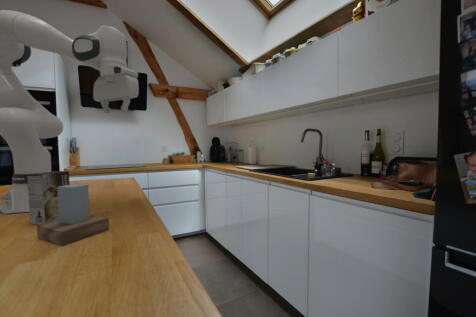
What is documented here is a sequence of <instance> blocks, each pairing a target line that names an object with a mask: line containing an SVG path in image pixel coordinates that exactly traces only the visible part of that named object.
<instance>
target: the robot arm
mask: <svg viewBox="0 0 476 317" xmlns="http://www.w3.org/2000/svg"><path fill="white" fill-rule="evenodd" d="M32 49H35V50H40V51H45V52H49V53H52V54H57V55H63V56H66V57H69V58H73V59H76V60H77V61H79V62H81V63H83V65H85V66H89V67H90V68H92V69H94V70H97V71H99V74H100V76H98V77H97V79H96V80H95V81H94V83H93V94H92V96H93V100H94V101H95V102H97V103H98V102H99V103H100V105H101V107H102V109H103V113H104V114H110V113H111V107H109V103H110V102H115V101H123V102H122V105H121V106H120V111H122V112H129V106H130V103H131V99H135V98H138V97H139V93H140V92H139V90H140V88H139V87H140V86H139V80H138V78H139V73H138V72H137V71H135V70H132V69H131V68H128V63H127V58H128V48H127V40H126V36H125V34H124V33H123V32H122V31H121V30H120V29H118V28H117V27H114V26H113V25H112V26H111V25H108V24H104V25H103V24H102V25H100V26H99V28H98V29H97V30H96V31H94V32H92V33H90V34H89V33H88V34H86V35H85V34H81V35H78V36H77V37H75V38H74V39H72V38H70V37H69V36H67V35H65V34H64V33H63V32H61V31H60V30H59V29H56V28H55V27H54V26H52V25H50V24H49V23H48V22H46V21H44V20H42V19H40V18H39V17H36V16H33V15H31V14H28V13H26V12H25V13H24V12H21V11H17V10H8V9H1V10H0V136H1V137H2V138H3V139H4V140H5V142H6V143H7V144H8V147H9V148H10V152H11V154H12V161H13V162H12V163H13V171H14V172H13V174H12V177H11V183H12V184H11V185H10V186H9V188H8V189H7V190H6V191H5V193H4V194H1V195H0V200H1V201H2V202H3V201H4V203H2V204H0V212H1V213H2V214H3V215H5V214H6V215H8V214H13V213H14V214H16V213H17V214H18V213H28V212H29V199H28V185H27V174H34V173H43V172H52V155H51V152H50V151H49V150H48V149H46V148H45V147H44V145H43V144H42V142H41V140H40V139H51V138H56V137H59V136H60V135H61V134H62V133H63V130H64V122H63V121H62V120H61V119H60V117H58V116H56V115H54V114H53V113H51V112H50V111H49V110H48V109H47V108H45V107H44V106H43V105H42V104H41V103H40V102H39V101H38V100H37V99H35V98H34V97H33V96H32V95H31V94H30V92H29V91H28V90H27V89H26V87H25V86H24V84H23V83H22V82H21V80H20V79H19V78H18V76H17V75H16V74H15V72H14V70H13V68H12V67H15V68H16V67H17V68H18V67H21V65H22V64H24V63H25V62H27V61H28V60H29V59H30V57H31V55H32Z"/></svg>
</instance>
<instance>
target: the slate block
mask: <svg viewBox="0 0 476 317" xmlns="http://www.w3.org/2000/svg"><path fill="white" fill-rule="evenodd" d="M89 192H90V191H89V184H83V183H73V184H70V185H66V186H59V187H58V221H59V223H63V224H72V225H73V224H76V223H79V222H82V221H85V220H88V219H89V214H90V200H89V199H90V197H89V196H90V195H89V194H90V193H89Z"/></svg>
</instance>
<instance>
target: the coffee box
mask: <svg viewBox="0 0 476 317" xmlns="http://www.w3.org/2000/svg"><path fill="white" fill-rule="evenodd" d="M27 185H28V199H29V223H30V225H39V224H43V223H47V222H51V221H55V220H58V187H59V186H66V185H71V184H70V171H68V170H67V171H65V170H61V171H60V170H53V171H52V170H51V172H43V173H34V174H27Z"/></svg>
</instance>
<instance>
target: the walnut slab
mask: <svg viewBox="0 0 476 317" xmlns="http://www.w3.org/2000/svg"><path fill="white" fill-rule="evenodd" d="M109 224H110V223H109V217H104V216H100V215H95V214H90V213H89V219H88V220H85V221H82V222H79V223H76V224H73V225H72V224H63V223H59V221H58V220H55V221H51V222H47V223H43V224H36V235H37V239H41V240H43V241H46V242H50V243H51V244H56V245H59V246H61V247H64V246H67V245H69V244H73V243H76V242H78V241H81V240H85V239H86V238H87V239H88V238H90V237H93V236H96V235H98V234H102V233H103V232H107V231H109V230H110V227H109Z"/></svg>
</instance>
